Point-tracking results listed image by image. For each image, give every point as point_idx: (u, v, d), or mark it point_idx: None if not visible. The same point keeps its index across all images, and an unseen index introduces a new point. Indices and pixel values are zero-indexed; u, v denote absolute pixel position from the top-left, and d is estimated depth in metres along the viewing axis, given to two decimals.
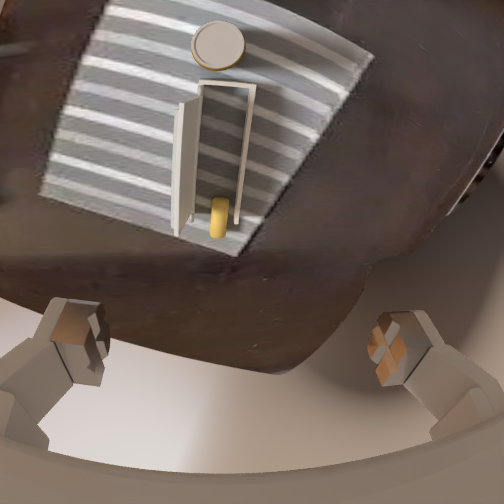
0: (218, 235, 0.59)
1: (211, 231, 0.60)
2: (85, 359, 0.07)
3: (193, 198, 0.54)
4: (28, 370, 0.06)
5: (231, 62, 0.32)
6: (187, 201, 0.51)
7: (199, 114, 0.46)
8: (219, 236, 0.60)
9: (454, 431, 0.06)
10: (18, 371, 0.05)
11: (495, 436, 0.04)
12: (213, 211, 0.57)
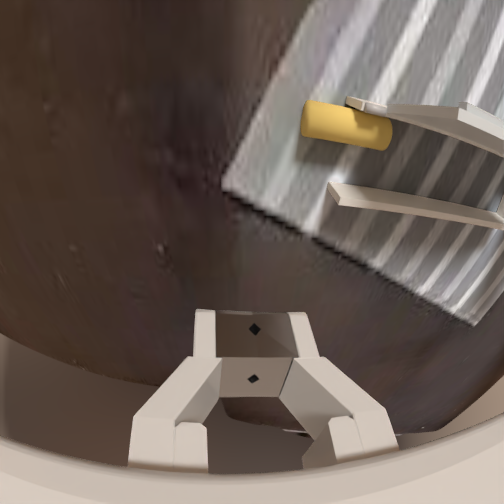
0: None
1: None
2: (251, 371, 0.07)
3: (410, 121, 0.22)
4: (199, 393, 0.06)
5: None
6: (447, 126, 0.19)
7: None
8: (312, 101, 0.23)
9: (317, 465, 0.06)
10: (193, 397, 0.06)
11: (495, 436, 0.04)
12: None
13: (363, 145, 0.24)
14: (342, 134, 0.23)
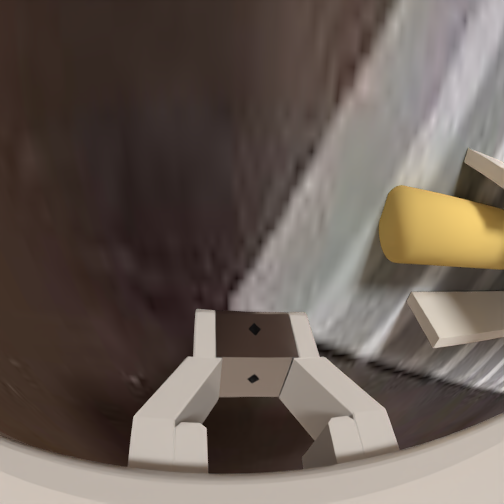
0: (427, 198, 0.10)
1: None
2: (251, 371, 0.07)
3: None
4: (199, 392, 0.06)
5: None
6: None
7: None
8: (425, 203, 0.10)
9: (317, 464, 0.06)
10: (193, 397, 0.06)
11: (495, 436, 0.04)
12: None
13: None
14: None
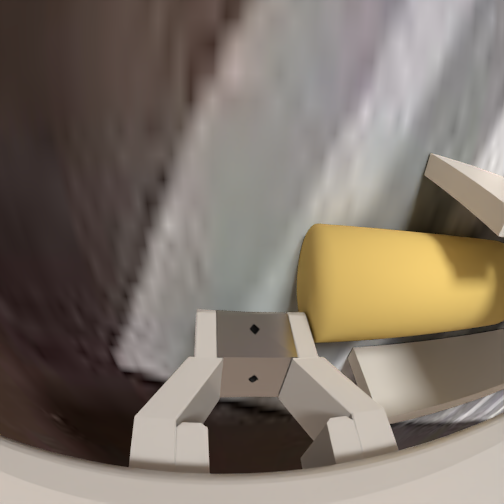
0: (357, 248, 0.07)
1: None
2: (252, 370, 0.07)
3: None
4: (200, 393, 0.06)
5: None
6: None
7: None
8: (350, 258, 0.07)
9: (316, 465, 0.06)
10: (194, 397, 0.06)
11: (495, 436, 0.04)
12: None
13: None
14: None
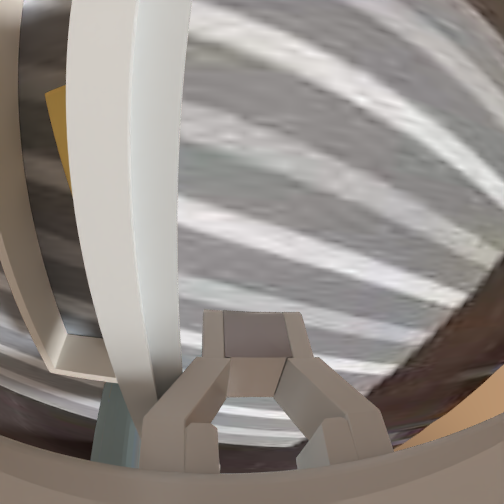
0: None
1: None
2: (259, 371, 0.07)
3: None
4: (208, 393, 0.06)
5: None
6: None
7: None
8: None
9: (311, 466, 0.06)
10: (203, 397, 0.06)
11: (495, 436, 0.04)
12: None
13: None
14: None
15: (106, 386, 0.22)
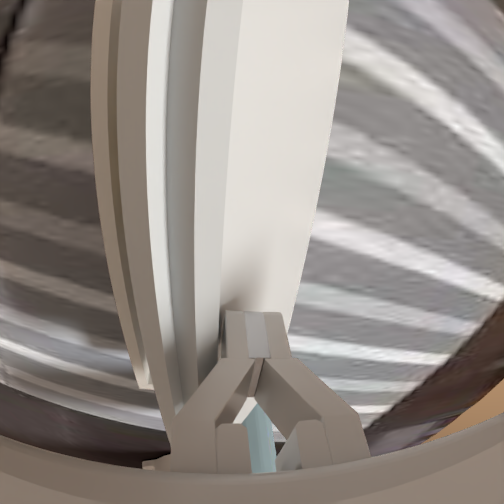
0: None
1: None
2: None
3: None
4: (235, 393, 0.06)
5: None
6: None
7: None
8: None
9: (286, 468, 0.06)
10: (231, 398, 0.06)
11: (495, 436, 0.04)
12: None
13: None
14: None
15: None
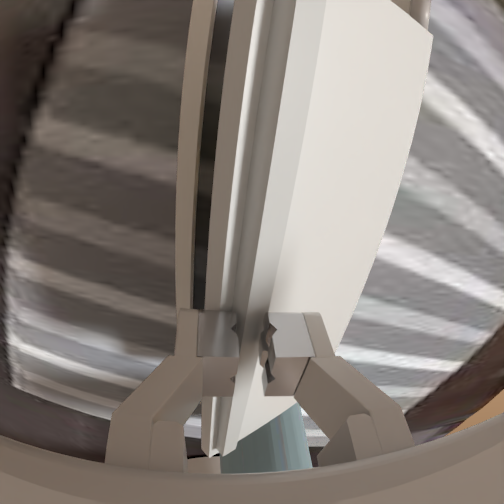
0: None
1: None
2: (233, 371, 0.07)
3: None
4: (179, 391, 0.06)
5: None
6: None
7: None
8: None
9: (334, 462, 0.06)
10: (172, 395, 0.06)
11: (495, 436, 0.04)
12: None
13: None
14: None
15: None
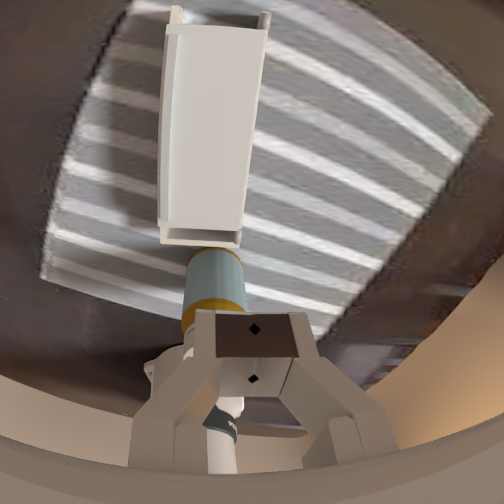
0: None
1: None
2: (251, 371, 0.07)
3: None
4: (199, 393, 0.06)
5: None
6: None
7: None
8: None
9: (317, 464, 0.06)
10: (193, 397, 0.06)
11: (495, 436, 0.04)
12: None
13: None
14: None
15: (192, 261, 0.38)
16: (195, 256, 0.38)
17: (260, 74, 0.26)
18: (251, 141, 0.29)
